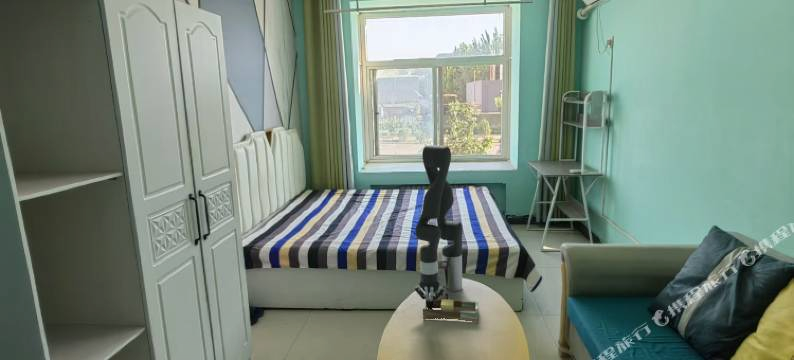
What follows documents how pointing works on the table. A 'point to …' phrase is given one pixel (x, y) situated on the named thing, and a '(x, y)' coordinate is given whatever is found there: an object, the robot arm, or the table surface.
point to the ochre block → (447, 304)
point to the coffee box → (443, 279)
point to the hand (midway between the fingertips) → (430, 307)
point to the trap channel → (461, 311)
